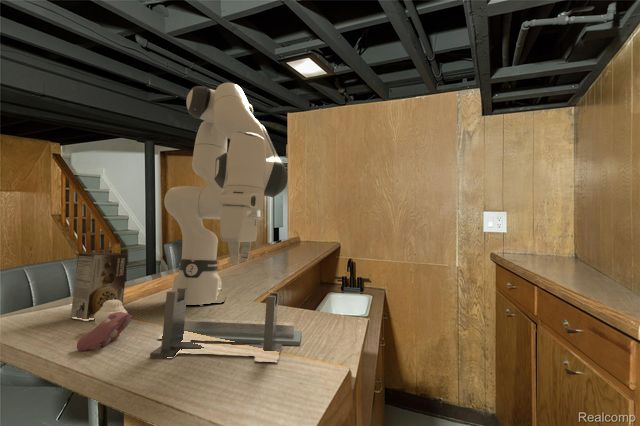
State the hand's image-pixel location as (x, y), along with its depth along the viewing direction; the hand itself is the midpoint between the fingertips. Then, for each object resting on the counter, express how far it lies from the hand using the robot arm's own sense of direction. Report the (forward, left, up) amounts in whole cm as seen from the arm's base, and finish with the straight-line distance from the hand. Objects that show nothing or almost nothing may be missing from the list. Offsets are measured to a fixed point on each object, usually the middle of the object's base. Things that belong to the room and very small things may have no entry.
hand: (239, 262), depth 69 cm
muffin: (0, -27, -16) cm, 31 cm away
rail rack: (+10, 0, -16) cm, 19 cm away
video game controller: (+8, -23, -16) cm, 29 cm away
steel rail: (0, 0, -15) cm, 15 cm away
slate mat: (0, 0, -16) cm, 16 cm away
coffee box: (-12, -38, -16) cm, 43 cm away
